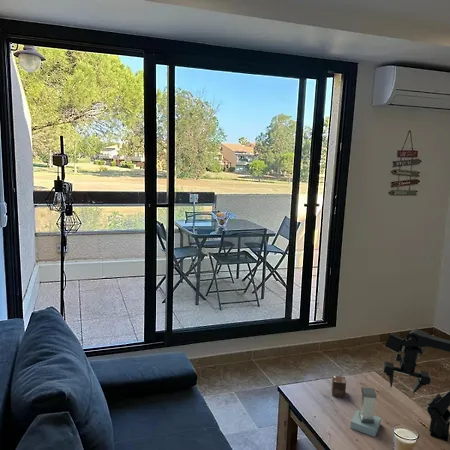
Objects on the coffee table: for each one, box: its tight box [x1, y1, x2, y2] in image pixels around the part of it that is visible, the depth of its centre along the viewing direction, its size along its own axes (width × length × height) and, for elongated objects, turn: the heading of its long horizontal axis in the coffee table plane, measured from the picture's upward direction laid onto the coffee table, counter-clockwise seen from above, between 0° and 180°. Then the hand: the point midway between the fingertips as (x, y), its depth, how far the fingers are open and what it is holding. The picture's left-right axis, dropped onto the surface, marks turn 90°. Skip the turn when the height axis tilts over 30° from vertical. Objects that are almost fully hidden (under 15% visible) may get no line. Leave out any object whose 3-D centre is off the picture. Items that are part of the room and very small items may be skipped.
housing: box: [359, 387, 377, 424], centre depth 171 cm, size 5×5×13 cm
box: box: [331, 375, 347, 398], centre depth 196 cm, size 6×6×7 cm
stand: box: [350, 409, 382, 438], centre depth 172 cm, size 10×10×3 cm
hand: (401, 389), depth 178 cm, fingers open, 9 cm apart
